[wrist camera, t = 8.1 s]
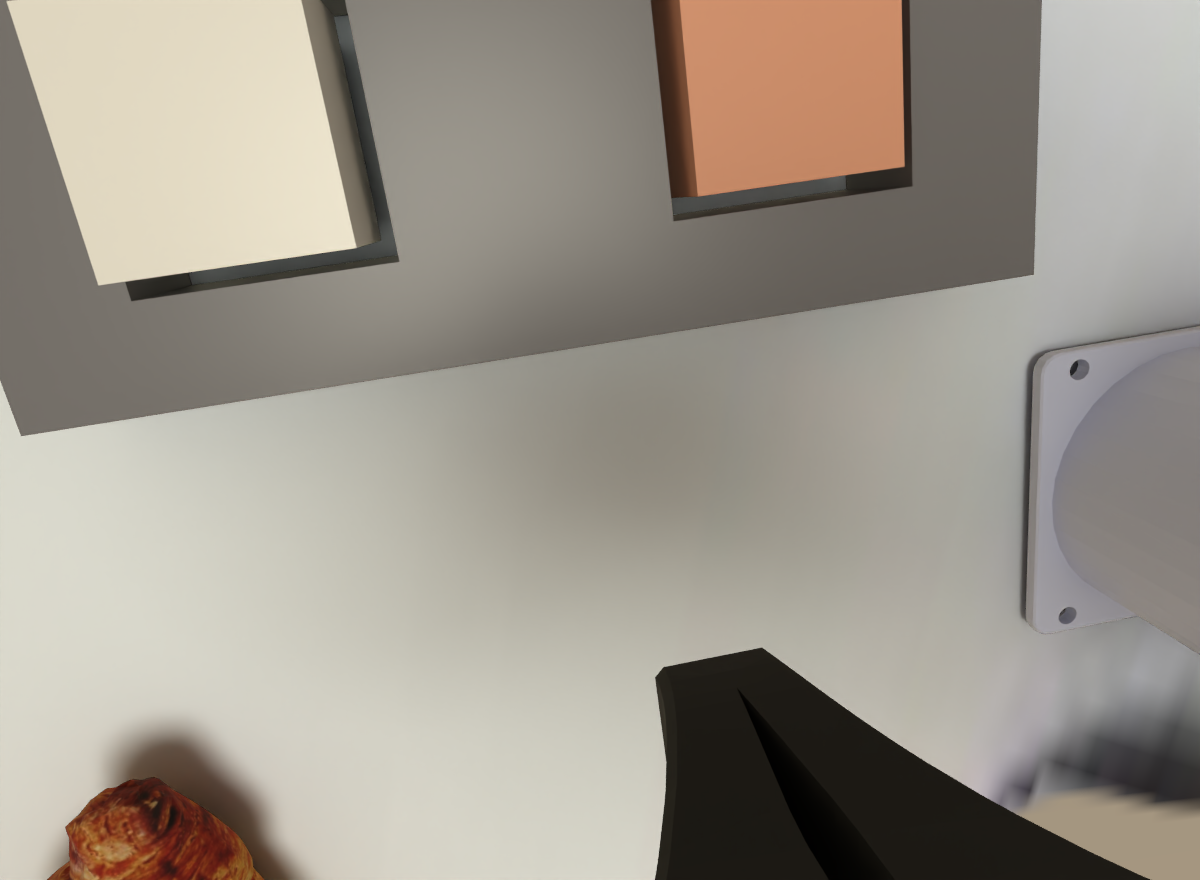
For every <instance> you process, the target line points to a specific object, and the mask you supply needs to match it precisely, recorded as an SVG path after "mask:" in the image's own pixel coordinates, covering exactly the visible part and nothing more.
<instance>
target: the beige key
mask: <svg viewBox="0 0 1200 880" xmlns="http://www.w3.org/2000/svg"><path fill="white" fill-rule="evenodd" d="M7 5H8V8H9V11H10V14H11V17H12V20H13V23H14V26H15V29H16V32H17V35H18V39H19V42H20V45H21V48H22V51H23V54H24V57H25V60H26V63H27V66H28V69H29V73H30V76H31V79H32V82H33V85H34V88H35V91H36V94H37V97H38V100H39V103H40V107H41V110H42V113H43V116H44V119H45V122H46V125H47V128H48V131H49V134H50V137H51V141H52V144H53V147H54V150H55V153H56V156H57V159H58V162H59V165H60V168H61V171H62V175H63V178H64V181H65V184H66V187H67V190H68V193H69V196H70V199H71V202H72V205H73V209H74V212H75V215H76V218H77V221H78V224H79V227H80V230H81V233H82V236H83V239H84V243H85V246H86V249H87V252H88V255H89V258H90V261H91V264H92V267H93V270H94V273H95V276H96V280H97V283H98V285H105V284H112V283H119V282H126V281H133V280H140V279H146V278H153V277H160V276H167V275H174V274H181V273H188V272H195V271H202V270H209V269H215V268H222V267H229V266H236V265H243V264H250V263H257V262H264V261H271V260H277V259H284V258H291V257H298V256H305V255H312V254H319V253H326V252H333V251H340V250H346V249H353V248H358V247H361V246H365V245H368V244H371V243H374V242H378V241H381V237H380V232H379V227H378V222H377V218H376V213H375V208H374V204H373V199H372V194H371V190H370V185H369V180H368V176H367V171H366V166H365V161H364V157H363V152H362V147H361V143H360V138H359V133H358V129H357V124H356V119H355V115H354V110H353V105H352V100H351V96H350V91H349V86H348V82H347V77H346V72H345V68H344V63H343V58H342V54H341V49H340V44H339V39H338V35H337V30H336V25H335V21H334V16H333V15H332V13H331V12H330V11H329V10H328V9H327V7H326V6H325V5H324V4H323V3H322V1H321V0H12V1H7Z"/></svg>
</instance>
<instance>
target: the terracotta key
mask: <svg viewBox="0 0 1200 880" xmlns="http://www.w3.org/2000/svg"><path fill="white" fill-rule="evenodd" d="M651 9H652V19H653V28H654V38H655V47H656V57H657V67H658V76H659V86H660V96H661V105H662V115H663V124H664V134H665V144H666V153H667V163H668V173H669V182H670V192H671V198H677V197H698V196H705V195H712V194H719V193H726V192H733V191H740V190H746V189H753V188H760V187H767V186H774V185H781V184H788V183H795V182H802V181H809V180H816V179H822V178H829V177H836V176H843V175H850V174H857V173H864V172H871V171H878V170H885V169H892V168H898V167H905V162H904V107H903V53H902V0H651Z"/></svg>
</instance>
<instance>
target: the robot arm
mask: <svg viewBox="0 0 1200 880" xmlns="http://www.w3.org/2000/svg"><path fill="white" fill-rule="evenodd" d="M1075 361H1078V368H1077V371H1076V372H1075V373H1074V374H1073V375H1071V376H1070V368H1071V366H1072V364H1073V363H1074V362H1075ZM1065 608H1066V611H1065V612H1064V613H1063V614H1062V615H1061V616H1059V615H1060V612H1061V611H1062V610H1063V609H1065ZM1135 616H1139V617H1141V618H1143V619H1144V620H1146V621H1147V622H1149V623H1150V624H1152V625H1154V626H1155V627H1157V628H1158V629H1160V630H1161V631H1163V632H1165V633H1166V634H1168V635H1169V636H1171V637H1173V638H1174V639H1176V640H1177V641H1179V642H1180V643H1182V644H1184V645H1185V646H1187V647H1188V648H1190V649H1191V650H1193V651H1195V652H1196V653H1198V654H1199V655H1200V326H1197V327H1191V328H1185V329H1179V330H1173V331H1167V332H1161V333H1155V334H1149V335H1143V336H1137V337H1132V338H1126V339H1120V340H1114V341H1108V342H1102V343H1096V344H1090V345H1084V346H1078V347H1072V348H1066V349H1060V350H1054V351H1051V352H1048V353H1045V354H1044V355H1043V356H1042V357H1040V358H1039V359H1038V361H1037V363H1036V364H1035V367H1034V371H1033V392H1032V425H1031V458H1030V491H1029V524H1028V557H1027V590H1026V620H1027V623H1028V624H1029V625H1030V626H1031V627H1032V628H1033V629H1034V630H1036V631H1037V632H1039V633H1041V634H1051V633H1056V632H1061V631H1066V630H1071V629H1076V628H1081V627H1086V626H1091V625H1096V624H1101V623H1105V622H1110V621H1115V620H1120V619H1125V618H1130V617H1135ZM655 679H656V687H657V694H658V702H659V709H660V717H661V724H662V732H663V739H664V747H665V754H666V762H667V763H666V793H665V805H664V814H663V823H662V831H661V840H660V849H659V858H658V865H657V871H656V877H655V880H1150V879H1148V878H1145V877H1143V876H1141V875H1138V874H1136V873H1134V872H1132V871H1130V870H1128V869H1125V868H1123V867H1121V866H1119V865H1117V864H1115V863H1113V862H1110V861H1108V860H1106V859H1104V858H1102V857H1100V856H1098V855H1095V854H1093V853H1091V852H1089V851H1087V850H1085V849H1083V848H1081V847H1079V846H1077V845H1075V844H1073V843H1071V842H1069V841H1068V840H1066V839H1064V838H1062V837H1060V836H1058V835H1056V834H1054V833H1052V832H1050V831H1048V830H1046V829H1044V828H1042V827H1040V826H1038V825H1036V824H1034V823H1032V822H1030V821H1028V820H1026V819H1024V818H1022V817H1020V816H1018V815H1016V814H1015V813H1013V812H1011V811H1009V810H1007V809H1006V808H1004V807H1002V806H1000V805H998V804H996V803H995V802H993V801H991V800H989V799H987V798H986V797H984V796H982V795H980V794H979V793H977V792H975V791H974V790H972V789H970V788H969V787H967V786H965V785H963V784H962V783H960V782H958V781H957V780H955V779H953V778H952V777H950V776H948V775H947V774H945V773H943V772H942V771H940V770H938V769H937V768H935V767H933V766H932V765H930V764H928V763H927V762H925V761H923V760H922V759H920V758H919V757H917V756H916V755H914V754H912V753H911V752H909V751H908V750H906V749H905V748H903V747H901V746H900V745H898V744H897V743H895V742H894V741H892V740H891V739H889V738H888V737H886V736H885V735H883V734H882V733H880V732H879V731H877V730H876V729H874V728H873V727H871V726H870V725H869V724H867V723H866V722H864V721H863V720H861V719H860V718H858V717H857V716H855V715H854V714H853V713H851V712H850V711H848V710H847V709H845V708H844V707H843V706H841V705H840V704H838V703H837V702H836V701H834V700H833V699H832V698H830V697H829V696H827V695H826V694H825V693H823V692H822V691H821V690H819V689H818V688H816V687H815V686H814V685H812V684H811V683H810V682H808V681H807V680H806V679H804V678H803V677H801V676H800V675H799V674H797V673H796V672H795V671H793V670H792V669H791V668H789V667H788V666H787V665H785V664H784V663H782V662H781V661H780V660H778V659H777V658H776V657H774V656H773V655H771V654H770V653H769V652H767V651H766V650H765V649H763V648H758V649H753V650H748V651H743V652H738V653H733V654H728V655H723V656H718V657H713V658H708V659H703V660H698V661H693V662H688V663H683V664H678V665H673V666H668V667H663V669H662V670H661V671H660V672H659V674H658V675H657V676H656V677H655Z"/></svg>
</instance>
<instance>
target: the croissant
mask: <svg viewBox="0 0 1200 880" xmlns="http://www.w3.org/2000/svg"><path fill="white" fill-rule="evenodd" d="M65 828H66V832H67V834H68V836H69V857H70V861H69V862H68V863H66V864H65V865H64V866H62V867H61V868H60V869H58V870H57V871H56V872H55V873H54V874H53V875H52V876H51V877H49V878H48V879H47V880H264V879H263V878H262V877H261V875H260V874H259V873H258V872H257V871H256V870H255V869H254V868H253V860H252V857H251V855H250V853H249V851H248V849H247V848H246V846H245V845H244V843H243V841H242V840H241V839H240V837H239V836H238V835H237V834H236V833H235V832H234V831H233V830H232V829H231V828H229V827H228V826H227V825H226V824H224V823H223V822H222V821H220V820H219V819H218V818H217V817H215V816H214V815H213V814H211V813H210V812H208V811H207V810H205V809H204V808H202V807H201V806H199V805H198V804H196V803H195V802H193V801H192V800H190V799H189V798H187V797H185V796H183V795H181V794H180V793H178V792H176V791H174V790H173V789H171V788H170V787H169V786H167V785H166V784H165V783H164V782H162V781H161V780H160V779H158V778H155V777H152V778H148V779H145V780H129V781H127V782H125V783H123V784H121V785H119V786H118V787H116V788H107V789H105V790H104V791H102V792H101V793H100V794H98V795H97V796H96V797H94V798H93V799H92V800H90V802H89V803H88V804H87V805H86V806H85V808H84V809H83V810H82V811H81V813H80V814H79V815H78V816H77V817H76V818H74V819H73V820H72V821H71V822H70V823H69V824H68V825H67V826H66V827H65Z"/></svg>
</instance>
